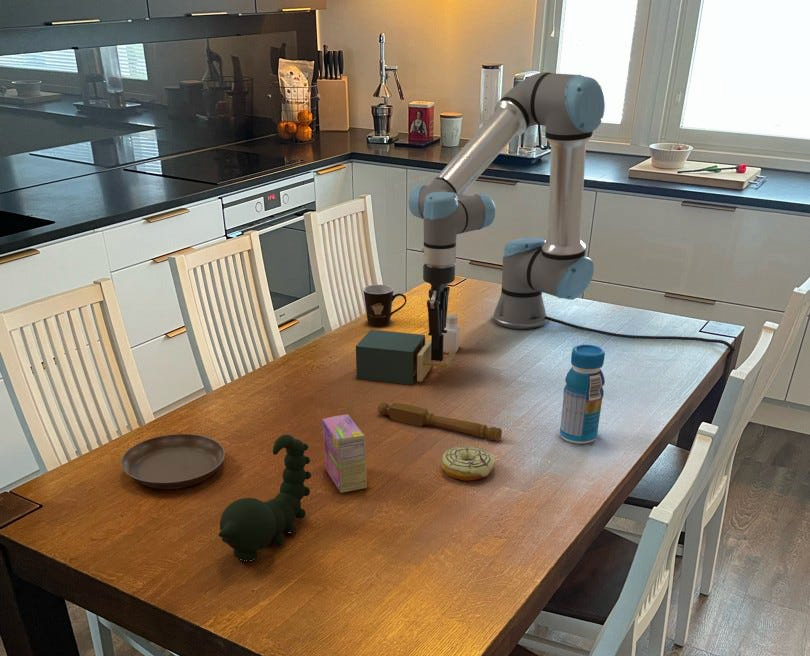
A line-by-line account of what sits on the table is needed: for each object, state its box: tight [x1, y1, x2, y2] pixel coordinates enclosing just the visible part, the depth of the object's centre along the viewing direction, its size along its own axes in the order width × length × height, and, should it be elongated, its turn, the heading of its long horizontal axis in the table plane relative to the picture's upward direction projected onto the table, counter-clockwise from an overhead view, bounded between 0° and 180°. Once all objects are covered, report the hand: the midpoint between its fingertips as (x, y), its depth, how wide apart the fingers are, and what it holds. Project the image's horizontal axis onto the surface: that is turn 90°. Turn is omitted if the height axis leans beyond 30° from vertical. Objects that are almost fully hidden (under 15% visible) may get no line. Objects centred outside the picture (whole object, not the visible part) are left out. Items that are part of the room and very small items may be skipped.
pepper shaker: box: [442, 313, 461, 353], centre depth 228 cm, size 4×4×10 cm
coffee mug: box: [362, 284, 407, 328], centre depth 245 cm, size 12×9×10 cm
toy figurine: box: [218, 434, 312, 563], centre depth 149 cm, size 9×19×25 cm
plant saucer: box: [120, 433, 226, 490], centre depth 175 cm, size 21×21×3 cm
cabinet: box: [355, 329, 426, 386], centre depth 216 cm, size 15×12×9 cm
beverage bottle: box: [559, 344, 606, 445], centre depth 183 cm, size 8×8×20 cm
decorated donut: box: [441, 446, 496, 482], centre depth 174 cm, size 10×11×4 cm
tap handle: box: [377, 402, 503, 442], centre depth 191 cm, size 3×3×30 cm
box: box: [321, 413, 368, 494], centre depth 169 cm, size 10×6×12 cm, turn 21°
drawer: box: [413, 339, 457, 382], centre depth 214 cm, size 20×11×7 cm, turn 74°
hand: (437, 359), depth 213 cm, fingers closed
